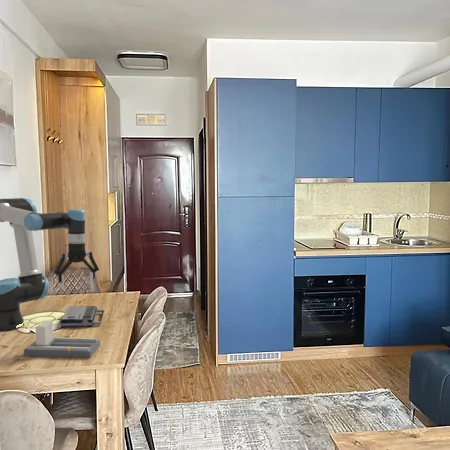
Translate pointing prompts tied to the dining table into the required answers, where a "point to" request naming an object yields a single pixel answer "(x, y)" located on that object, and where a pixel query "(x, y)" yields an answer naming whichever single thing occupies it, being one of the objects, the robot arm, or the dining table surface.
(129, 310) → the dining table surface
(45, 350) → the grey slider base
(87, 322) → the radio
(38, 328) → the fader tab
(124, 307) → the dining table surface
